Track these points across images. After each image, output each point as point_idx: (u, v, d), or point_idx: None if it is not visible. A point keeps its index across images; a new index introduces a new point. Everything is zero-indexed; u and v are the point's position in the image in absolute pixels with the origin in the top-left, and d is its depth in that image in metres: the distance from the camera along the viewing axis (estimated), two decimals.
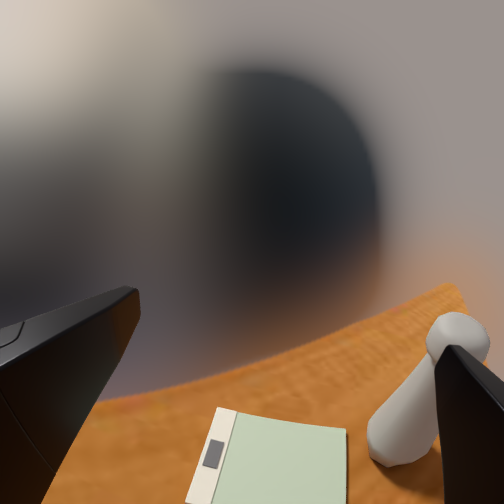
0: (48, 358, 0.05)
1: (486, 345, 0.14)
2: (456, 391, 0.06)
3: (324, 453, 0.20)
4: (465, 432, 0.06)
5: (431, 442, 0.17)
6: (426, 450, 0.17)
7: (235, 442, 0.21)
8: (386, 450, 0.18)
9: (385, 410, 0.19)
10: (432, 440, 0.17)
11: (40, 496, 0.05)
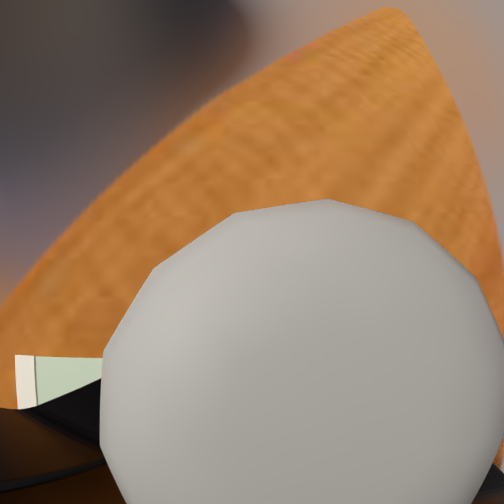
0: None
1: None
2: None
3: None
4: None
5: None
6: None
7: None
8: None
9: None
10: None
11: None
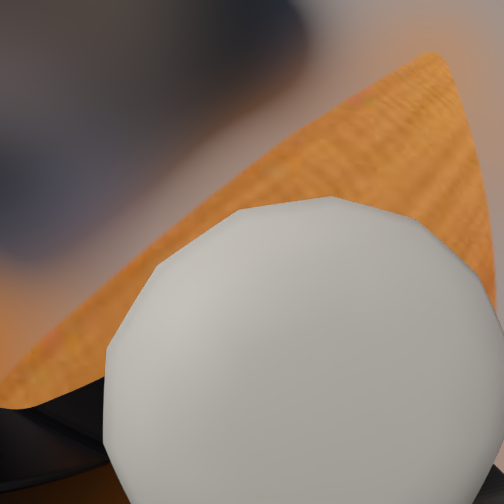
0: None
1: None
2: None
3: None
4: None
5: None
6: None
7: None
8: None
9: None
10: None
11: None
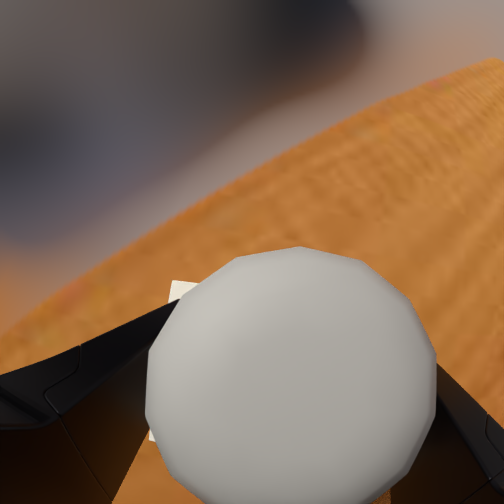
0: (116, 387, 0.05)
1: (391, 480, 0.03)
2: None
3: None
4: None
5: None
6: None
7: None
8: None
9: None
10: None
11: None
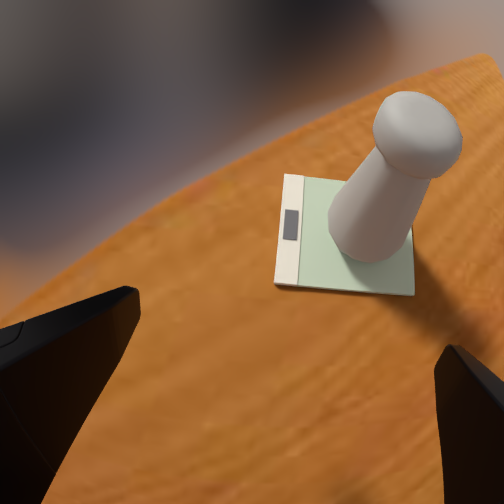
0: (48, 358, 0.05)
1: (457, 145, 0.11)
2: (456, 391, 0.06)
3: None
4: (465, 432, 0.06)
5: (403, 238, 0.19)
6: (399, 246, 0.20)
7: (308, 209, 0.24)
8: (352, 251, 0.20)
9: (341, 205, 0.19)
10: (404, 236, 0.19)
11: (40, 496, 0.05)
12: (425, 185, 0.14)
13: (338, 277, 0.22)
